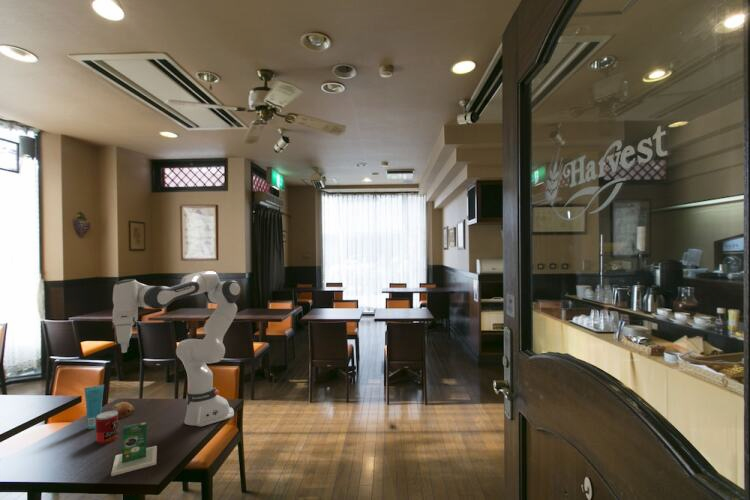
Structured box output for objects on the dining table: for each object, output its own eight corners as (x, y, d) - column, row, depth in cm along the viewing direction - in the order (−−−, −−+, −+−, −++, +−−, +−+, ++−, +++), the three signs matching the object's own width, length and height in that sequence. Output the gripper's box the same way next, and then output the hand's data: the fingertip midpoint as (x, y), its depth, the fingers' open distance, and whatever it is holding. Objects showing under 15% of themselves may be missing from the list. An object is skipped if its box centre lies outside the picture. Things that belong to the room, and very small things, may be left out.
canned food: (106, 444, 150) (106, 418, 151) (91, 443, 152) (91, 417, 152) (122, 436, 158) (122, 411, 158) (107, 434, 159) (108, 409, 160)
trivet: (156, 447, 147) (157, 445, 147) (156, 464, 135) (156, 461, 135) (115, 457, 140) (115, 455, 140) (111, 476, 128) (111, 473, 128)
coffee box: (147, 453, 141) (147, 420, 141) (146, 456, 139) (147, 423, 139) (122, 459, 137) (122, 425, 137) (121, 463, 134) (122, 428, 135)
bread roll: (124, 417, 185) (118, 403, 186) (140, 409, 184) (134, 395, 185) (107, 426, 175) (101, 411, 176) (124, 418, 174) (118, 403, 175)
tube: (103, 422, 171) (103, 383, 171) (104, 426, 167) (104, 385, 168) (83, 428, 166) (83, 386, 166) (84, 431, 162) (84, 389, 163)
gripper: (118, 314, 158) (118, 345, 158) (113, 321, 140) (113, 356, 140) (135, 313, 161) (135, 343, 161) (132, 320, 144) (132, 354, 143)
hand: (125, 349), depth 150 cm, fingers open, 8 cm apart
